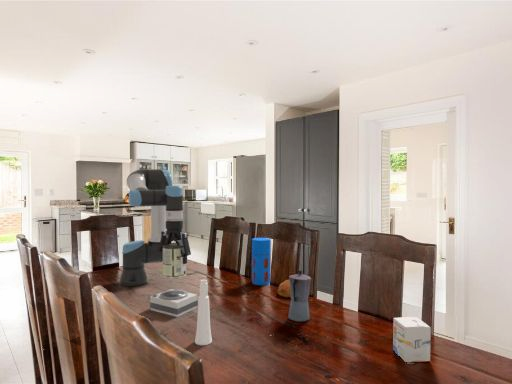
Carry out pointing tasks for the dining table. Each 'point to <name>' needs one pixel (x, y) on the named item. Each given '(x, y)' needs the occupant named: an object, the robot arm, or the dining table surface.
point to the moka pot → (299, 297)
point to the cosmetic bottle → (203, 316)
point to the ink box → (411, 339)
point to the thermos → (261, 261)
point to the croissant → (284, 289)
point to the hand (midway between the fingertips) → (174, 269)
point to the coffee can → (172, 261)
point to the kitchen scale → (173, 302)
